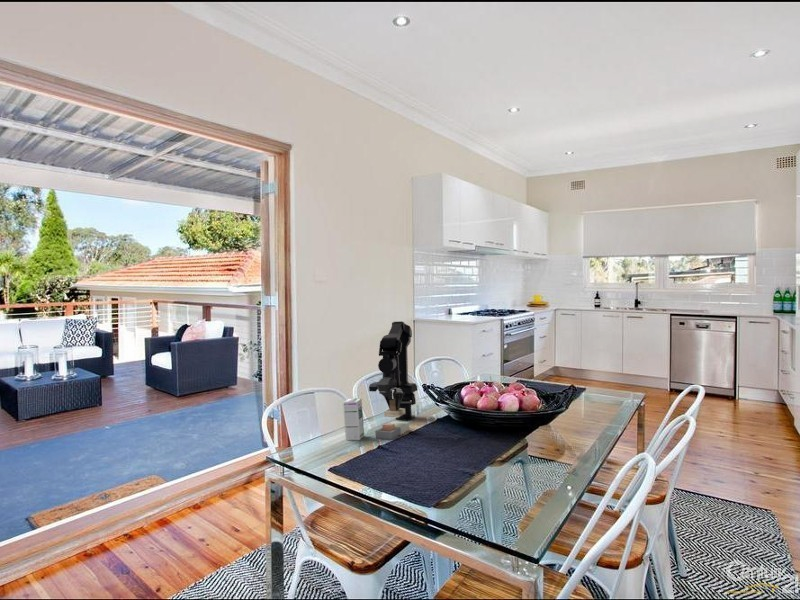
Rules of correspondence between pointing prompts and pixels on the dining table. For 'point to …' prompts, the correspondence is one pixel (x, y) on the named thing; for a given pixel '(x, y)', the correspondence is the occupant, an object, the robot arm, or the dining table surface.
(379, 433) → the tray
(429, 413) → the dining table surface
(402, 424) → the deck
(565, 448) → the dining table surface
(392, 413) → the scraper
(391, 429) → the tile
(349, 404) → the syrup box
